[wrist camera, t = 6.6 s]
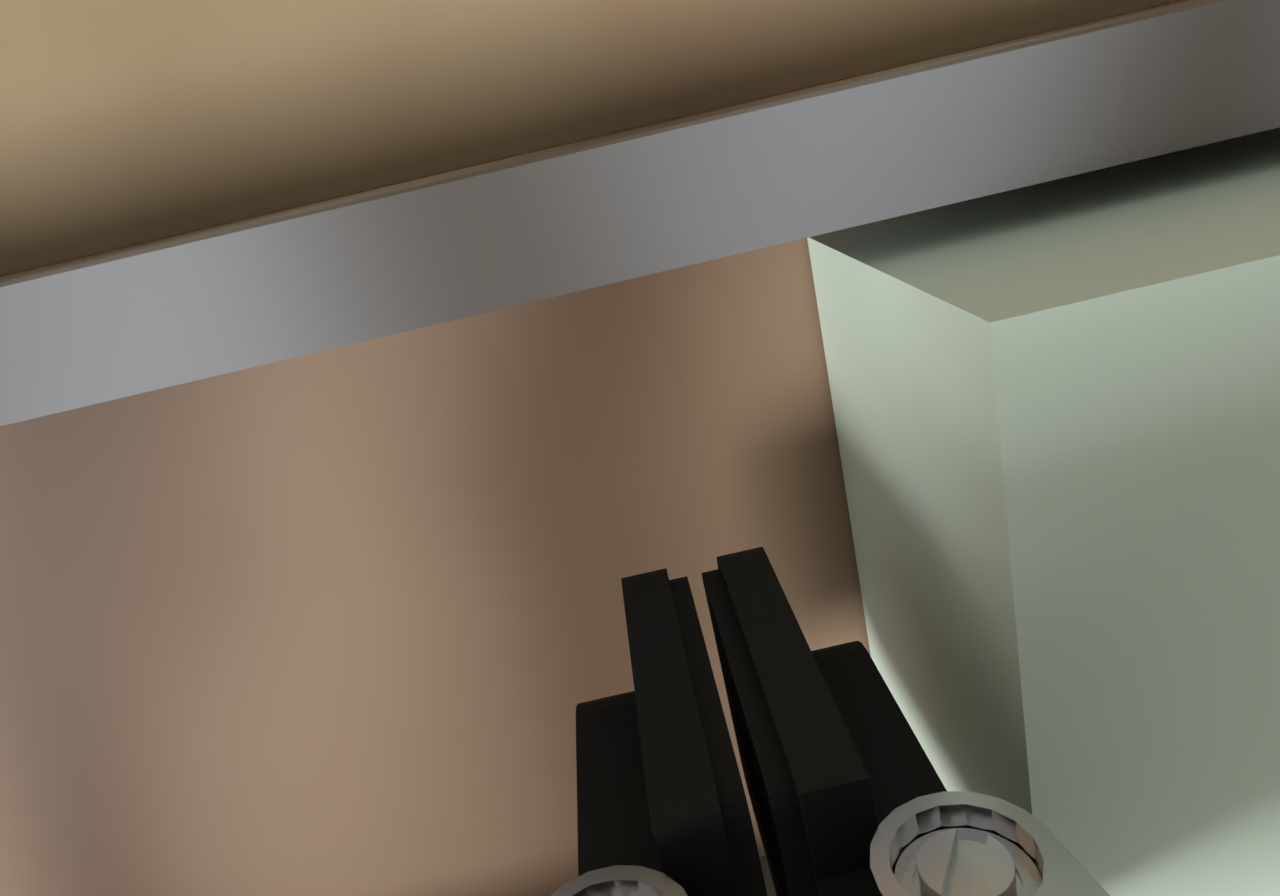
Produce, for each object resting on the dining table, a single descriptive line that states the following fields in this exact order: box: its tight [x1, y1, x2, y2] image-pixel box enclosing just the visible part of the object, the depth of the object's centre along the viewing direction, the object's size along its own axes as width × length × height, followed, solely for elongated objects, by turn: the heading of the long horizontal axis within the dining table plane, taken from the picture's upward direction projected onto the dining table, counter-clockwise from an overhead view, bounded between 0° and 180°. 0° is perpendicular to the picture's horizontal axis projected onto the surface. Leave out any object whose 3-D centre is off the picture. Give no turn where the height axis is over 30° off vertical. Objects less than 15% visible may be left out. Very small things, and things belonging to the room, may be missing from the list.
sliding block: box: [807, 127, 1280, 896], centre depth 10 cm, size 6×9×5 cm
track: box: [0, 0, 1280, 896], centre depth 11 cm, size 32×12×6 cm, turn 102°
